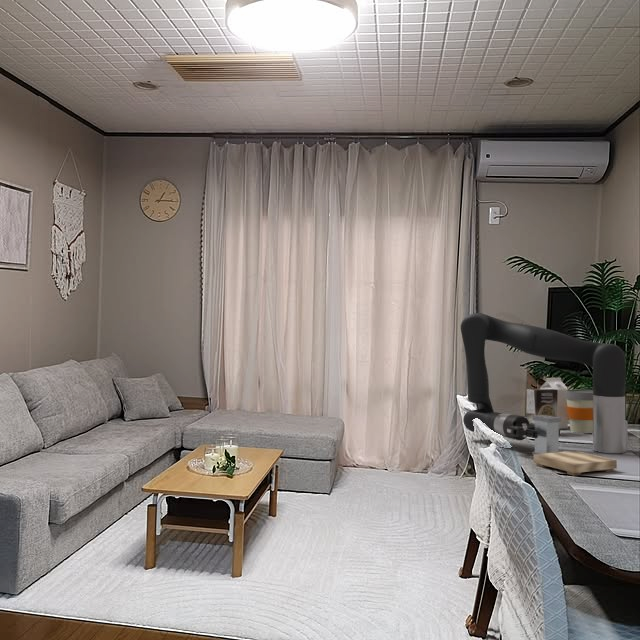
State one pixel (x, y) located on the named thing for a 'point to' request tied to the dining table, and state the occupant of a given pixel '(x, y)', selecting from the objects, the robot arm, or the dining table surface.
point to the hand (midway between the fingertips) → (548, 433)
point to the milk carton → (559, 399)
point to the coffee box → (541, 403)
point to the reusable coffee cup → (580, 410)
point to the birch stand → (575, 462)
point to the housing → (546, 434)
